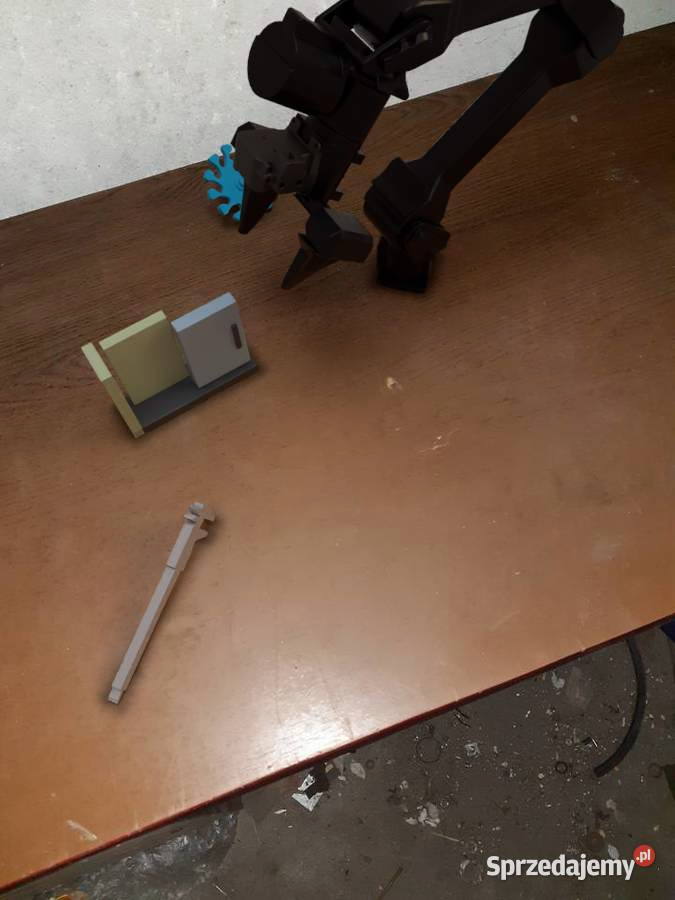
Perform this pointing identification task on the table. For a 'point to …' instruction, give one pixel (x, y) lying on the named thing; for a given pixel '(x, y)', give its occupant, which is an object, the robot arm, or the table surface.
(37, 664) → the table surface
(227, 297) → the closet door
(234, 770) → the table surface
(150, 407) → the closet frame
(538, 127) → the table surface
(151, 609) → the caliper
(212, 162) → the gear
